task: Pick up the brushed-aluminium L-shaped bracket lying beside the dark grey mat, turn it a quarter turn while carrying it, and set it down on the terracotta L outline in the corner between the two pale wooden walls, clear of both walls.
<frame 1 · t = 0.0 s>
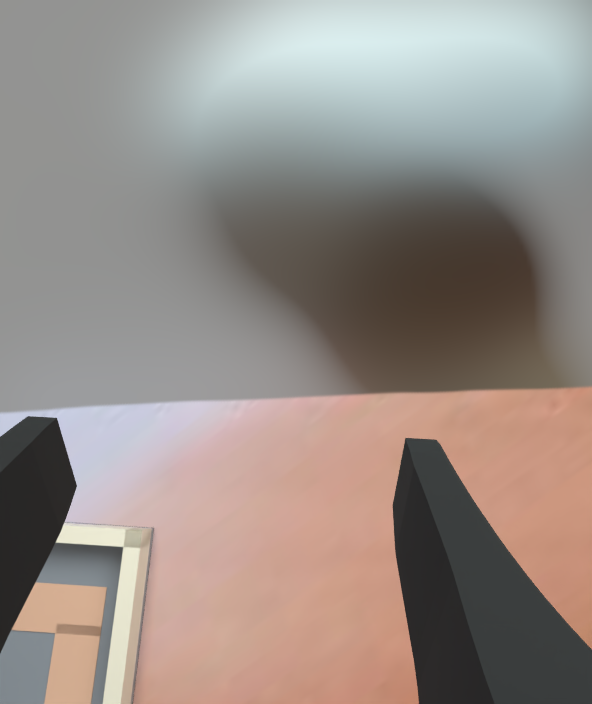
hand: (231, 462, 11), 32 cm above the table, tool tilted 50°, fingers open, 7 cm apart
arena: (49, 620, 40), on the table
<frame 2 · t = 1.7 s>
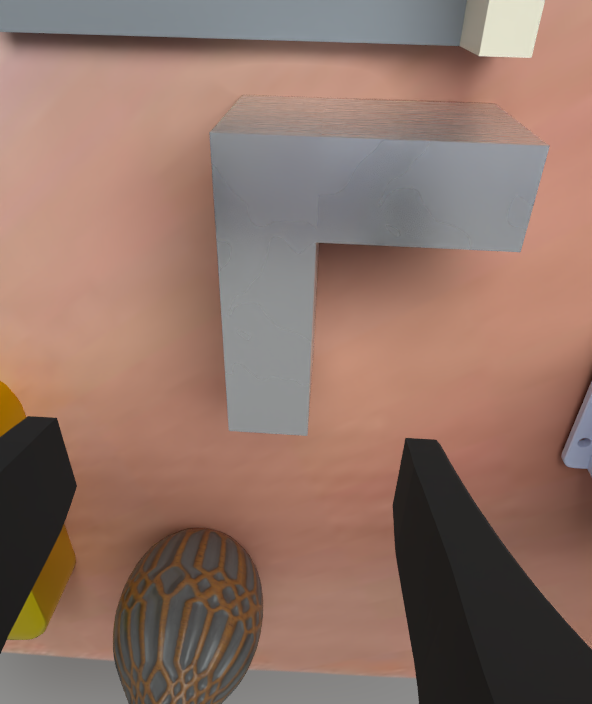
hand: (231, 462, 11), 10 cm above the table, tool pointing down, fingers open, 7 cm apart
bracket: (282, 238, 19), on the table
vase: (206, 548, 29), on the table
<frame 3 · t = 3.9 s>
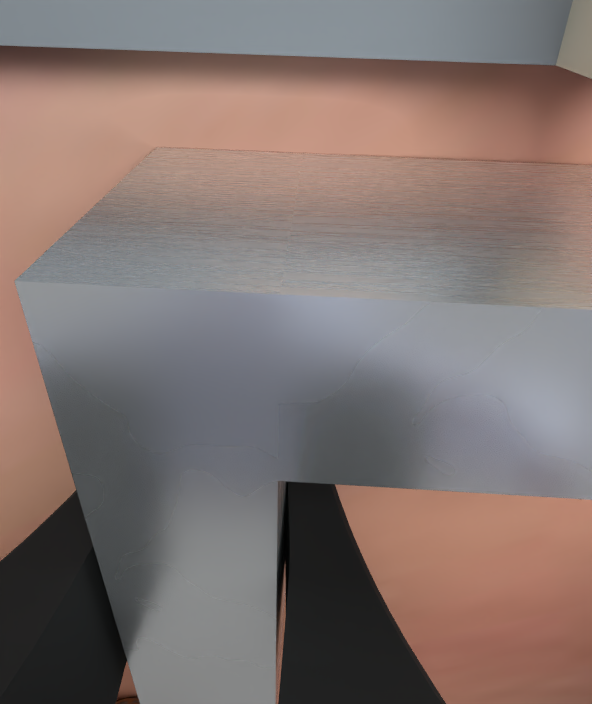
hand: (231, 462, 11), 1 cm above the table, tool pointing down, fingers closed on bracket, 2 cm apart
bracket: (238, 365, 12), on the table, touching gripper
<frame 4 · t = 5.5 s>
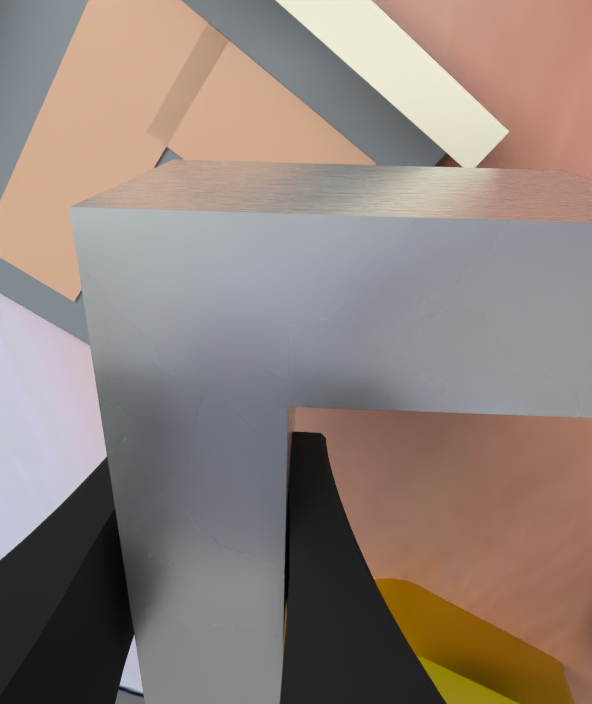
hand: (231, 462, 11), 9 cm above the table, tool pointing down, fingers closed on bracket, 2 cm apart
bracket: (241, 366, 13), point 6 cm above the table, tilted 9°, touching gripper
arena: (139, 151, 16), on the table
element tile: (393, 662, 34), on the table
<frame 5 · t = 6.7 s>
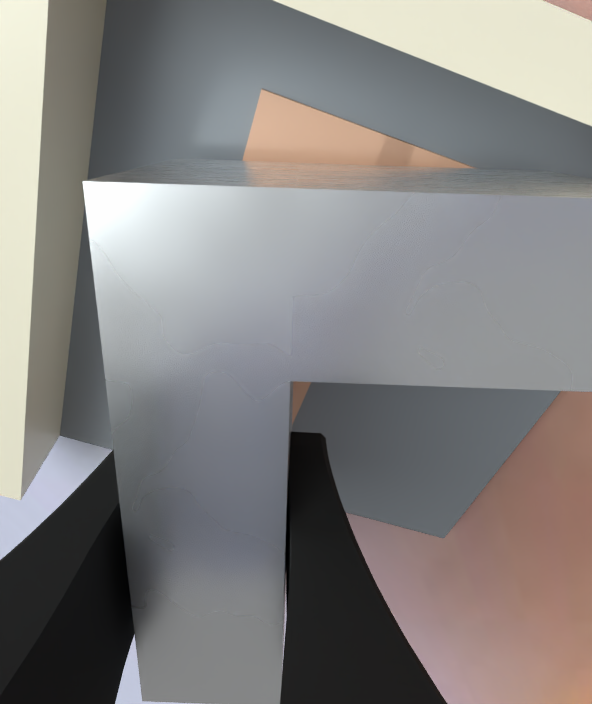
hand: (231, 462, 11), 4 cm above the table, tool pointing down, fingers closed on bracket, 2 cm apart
bracket: (240, 364, 13), point 2 cm above the table, tilted 12°, touching gripper
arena: (317, 292, 14), on the table
when the fingers open (4 cm above the table, at t = 7.5 s): bracket stays where it is, resting on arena.
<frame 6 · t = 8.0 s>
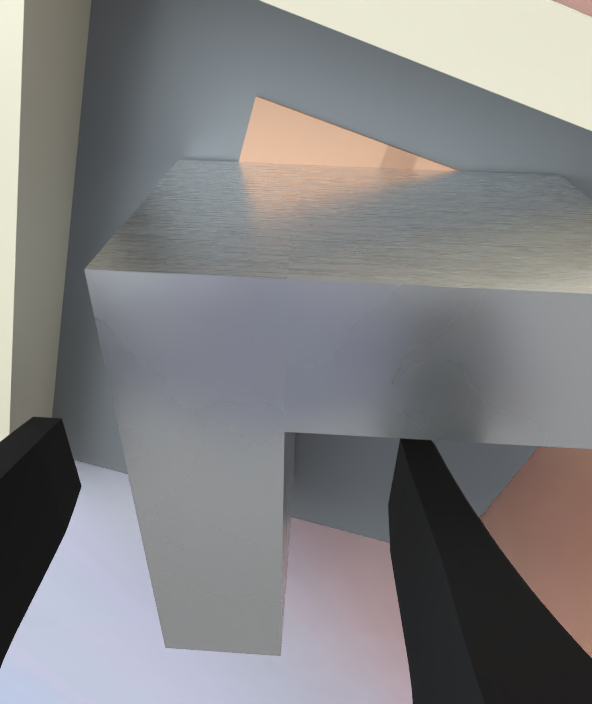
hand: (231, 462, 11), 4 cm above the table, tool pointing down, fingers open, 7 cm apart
bracket: (247, 349, 13), point 1 cm above the table, touching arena
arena: (315, 306, 13), on the table
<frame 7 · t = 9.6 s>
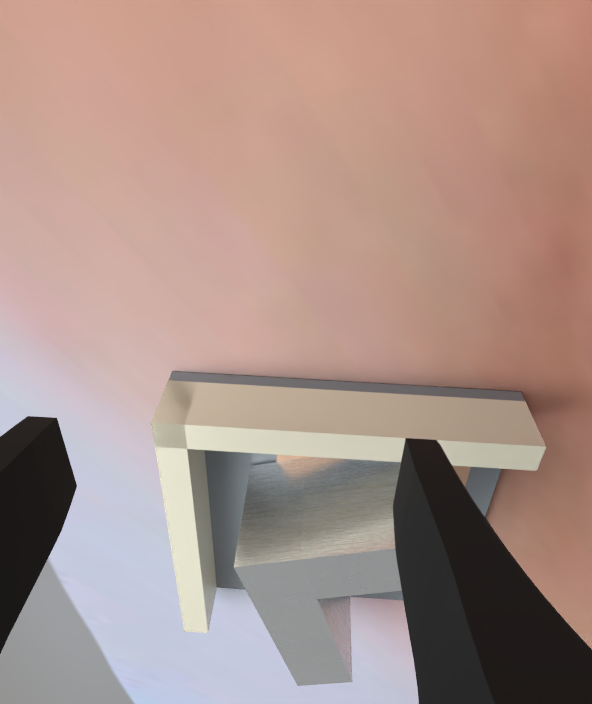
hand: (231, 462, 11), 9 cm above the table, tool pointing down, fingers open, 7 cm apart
bracket: (304, 527, 26), point 1 cm above the table, touching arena
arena: (332, 498, 26), on the table
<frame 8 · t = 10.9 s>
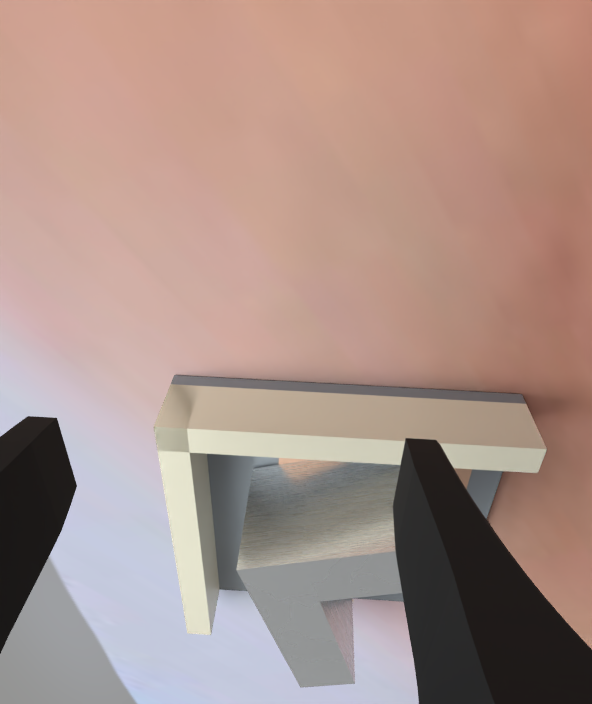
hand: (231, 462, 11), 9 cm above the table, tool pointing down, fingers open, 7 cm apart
bracket: (306, 529, 26), point 1 cm above the table, touching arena
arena: (334, 500, 26), on the table
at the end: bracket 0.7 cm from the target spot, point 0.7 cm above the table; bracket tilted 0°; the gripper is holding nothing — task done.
